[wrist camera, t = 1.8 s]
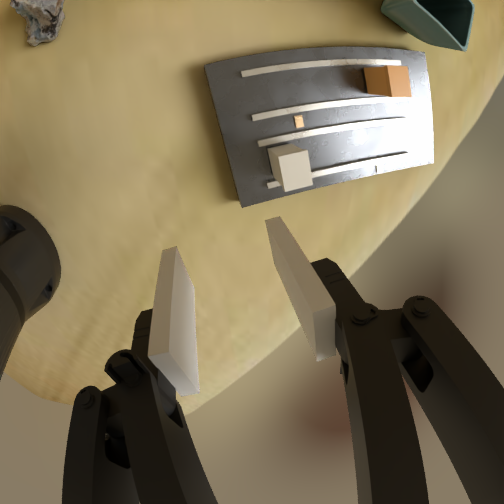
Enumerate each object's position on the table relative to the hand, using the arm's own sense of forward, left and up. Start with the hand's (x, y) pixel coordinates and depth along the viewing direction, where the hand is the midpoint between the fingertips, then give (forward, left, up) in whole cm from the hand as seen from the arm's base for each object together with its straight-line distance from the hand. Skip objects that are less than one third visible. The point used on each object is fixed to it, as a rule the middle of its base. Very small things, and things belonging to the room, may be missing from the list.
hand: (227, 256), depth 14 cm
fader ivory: (+7, 0, -14) cm, 16 cm away
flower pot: (+27, +17, -17) cm, 36 cm away
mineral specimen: (-11, +26, -17) cm, 33 cm away
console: (+15, +3, -17) cm, 23 cm away
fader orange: (+19, +7, -14) cm, 25 cm away
